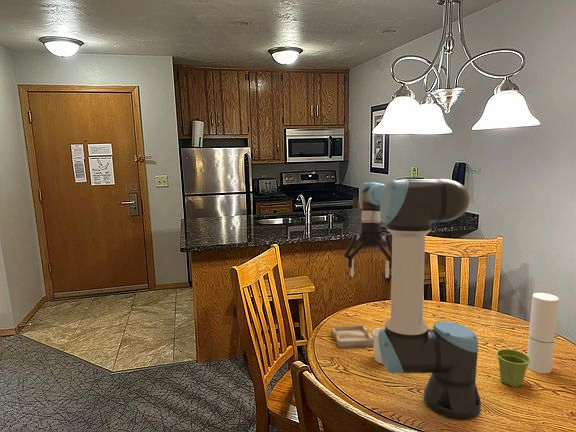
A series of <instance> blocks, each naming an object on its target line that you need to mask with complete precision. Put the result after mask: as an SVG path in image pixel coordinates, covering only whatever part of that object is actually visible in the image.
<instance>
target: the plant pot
mask: <svg viewBox="0 0 576 432" xmlns="http://www.w3.org/2000/svg"><path fill="white" fill-rule="evenodd" d="M495 353H496V357H497V360H498V366H499V378H500V381H501V382H502V383H503V384H505V385H509V386H510V387H516V388H517V387H521V386H522V385H523V384H524V379H525V377H526V376H525V375H526V371H527V369H528V368H527V366H528V364H529V363H530V362H531V359H530V357H529V356H528V355H527V354H526V353H524V352H522V351H519V350H516V349H511V348H501V349H498V350H497V351H496V352H495Z"/></svg>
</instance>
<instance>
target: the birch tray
mask: <svg viewBox="0 0 576 432" xmlns="http://www.w3.org/2000/svg"><path fill="white" fill-rule="evenodd" d="M331 333H332V336H333V338H334V340H335V342H336V345H337V346H338V348H339V350H344V349H358V348H369V347H370V348H371V347H373V335H371V333H370V332H369V330H368V329H367V327H366V325H365V324H361V325H360V324H359V325H357V324H356V325H343V326H341V325H339V326H331Z"/></svg>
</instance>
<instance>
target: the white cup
mask: <svg viewBox="0 0 576 432" xmlns="http://www.w3.org/2000/svg"><path fill="white" fill-rule="evenodd" d="M380 330H385V327H378V328H375V329H373V330H372V337H373V354H374V355H373V359H374V361H375V362H376V363H378V364H382V365H384V363H383V360H382V357H381V352H380V347H379V340H378V334H379V331H380Z"/></svg>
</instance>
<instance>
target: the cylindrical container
mask: <svg viewBox="0 0 576 432" xmlns="http://www.w3.org/2000/svg"><path fill="white" fill-rule="evenodd" d="M531 298H532V299H531V307H530V308H531V309H530V319H529V320H530V321H529V331H528V342H527V351H526V353H527V354H526V355H528V356H529V357H530V359H531V362H530V363H529V364H528V366H527V367H528V368H529V369H528V368H527V369H528V370H530V369H531V370H533V371H532V372H534V371H536V372H540V373H549V374H551V373H552V371H551V370H553V369H552V368H553V359H554V350H555V340H556V331H557V322H558V313H559V312H558V311H559V301H560V299H559V297H558V296H556V295H554V294H550V293H546V292H534V293H533V294H532V297H531ZM531 370H530V371H531ZM536 372H535V373H536ZM550 372H551V373H550ZM540 373H539V374H540Z"/></svg>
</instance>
